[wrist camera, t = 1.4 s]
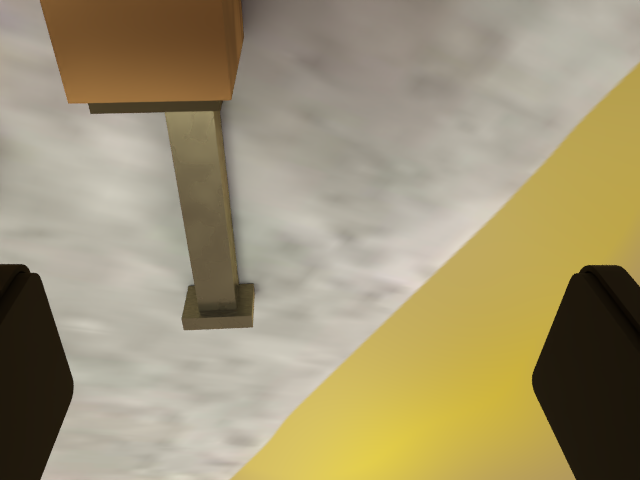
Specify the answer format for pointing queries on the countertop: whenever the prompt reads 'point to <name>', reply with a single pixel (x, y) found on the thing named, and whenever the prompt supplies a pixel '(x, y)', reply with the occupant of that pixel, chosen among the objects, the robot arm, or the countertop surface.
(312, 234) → the countertop surface
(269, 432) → the countertop surface
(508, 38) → the countertop surface
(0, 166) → the countertop surface
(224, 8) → the wooden block
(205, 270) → the rail
